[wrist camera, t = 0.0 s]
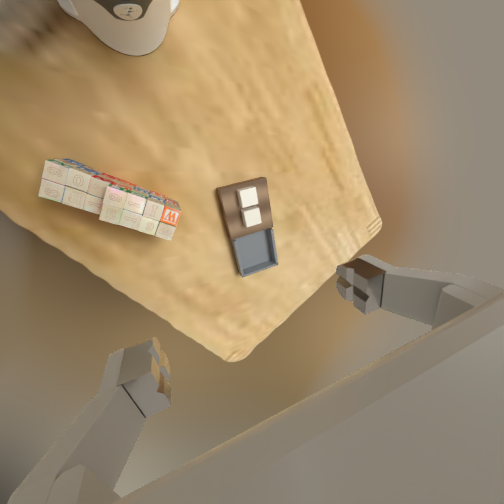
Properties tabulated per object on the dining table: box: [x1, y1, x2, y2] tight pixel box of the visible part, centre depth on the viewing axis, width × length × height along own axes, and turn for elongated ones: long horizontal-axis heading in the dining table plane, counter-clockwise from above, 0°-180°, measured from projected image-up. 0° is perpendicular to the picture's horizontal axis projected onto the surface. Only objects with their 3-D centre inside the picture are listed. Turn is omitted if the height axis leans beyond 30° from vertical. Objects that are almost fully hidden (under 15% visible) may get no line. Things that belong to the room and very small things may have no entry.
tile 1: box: [241, 206, 262, 227], centre depth 55 cm, size 4×4×2 cm
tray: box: [231, 228, 278, 277], centre depth 62 cm, size 11×11×4 cm
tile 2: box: [237, 186, 258, 208], centre depth 53 cm, size 4×4×2 cm
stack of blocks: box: [38, 159, 181, 241], centre depth 42 cm, size 21×6×12 cm, turn 64°
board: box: [217, 177, 273, 240], centre depth 57 cm, size 13×12×3 cm
